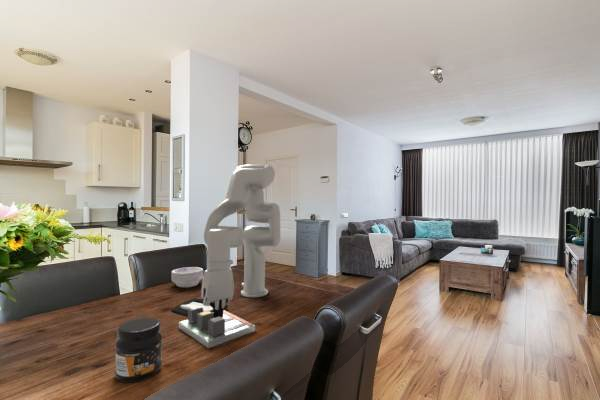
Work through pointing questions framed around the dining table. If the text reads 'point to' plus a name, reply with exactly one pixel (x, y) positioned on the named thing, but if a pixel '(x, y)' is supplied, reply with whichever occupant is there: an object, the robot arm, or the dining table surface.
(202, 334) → the panel
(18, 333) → the dining table surface
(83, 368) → the dining table surface
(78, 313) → the dining table surface
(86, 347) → the dining table surface
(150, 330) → the supplement container
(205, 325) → the block
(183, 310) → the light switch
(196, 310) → the block
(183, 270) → the grey round bowl
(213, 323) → the breaker right
